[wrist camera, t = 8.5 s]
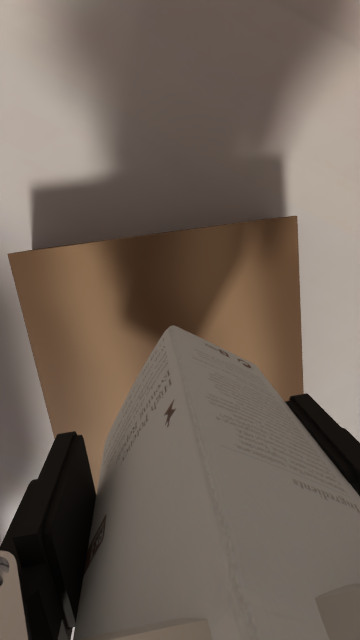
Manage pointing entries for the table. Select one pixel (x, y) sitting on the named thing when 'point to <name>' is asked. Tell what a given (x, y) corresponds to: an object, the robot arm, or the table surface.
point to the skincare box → (215, 505)
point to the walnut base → (156, 312)
